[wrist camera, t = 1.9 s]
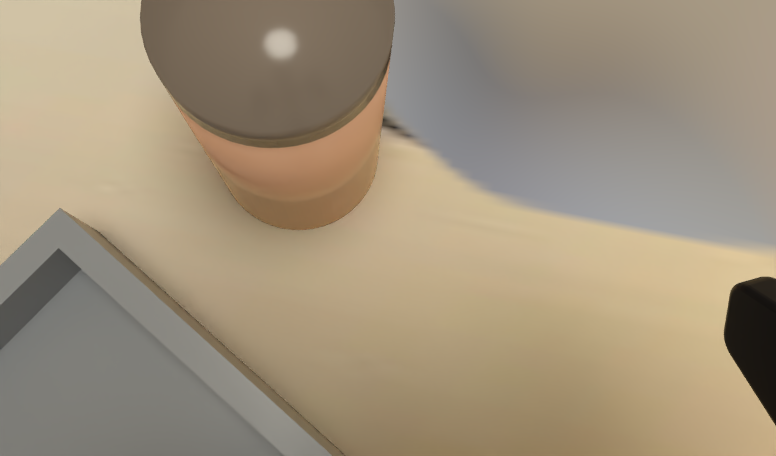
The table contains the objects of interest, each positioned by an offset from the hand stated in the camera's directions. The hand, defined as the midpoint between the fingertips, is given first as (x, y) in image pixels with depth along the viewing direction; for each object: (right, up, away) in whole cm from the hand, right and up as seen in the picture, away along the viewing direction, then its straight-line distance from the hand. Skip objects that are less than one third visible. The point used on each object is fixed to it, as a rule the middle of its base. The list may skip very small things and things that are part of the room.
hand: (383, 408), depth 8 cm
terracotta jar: (-3, +5, +15) cm, 16 cm away
